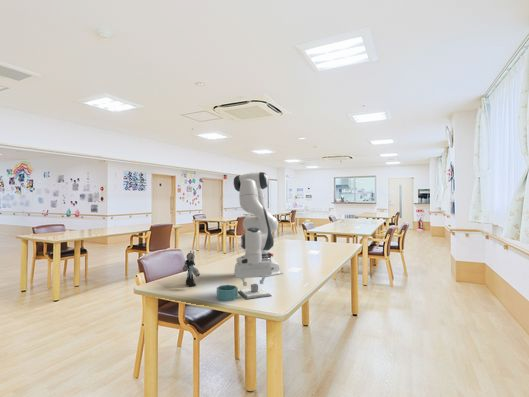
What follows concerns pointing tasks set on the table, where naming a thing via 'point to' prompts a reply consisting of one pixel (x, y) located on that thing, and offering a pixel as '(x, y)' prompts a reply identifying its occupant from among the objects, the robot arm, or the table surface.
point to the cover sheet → (256, 294)
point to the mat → (253, 297)
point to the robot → (190, 269)
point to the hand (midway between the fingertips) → (253, 284)
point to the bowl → (227, 292)
